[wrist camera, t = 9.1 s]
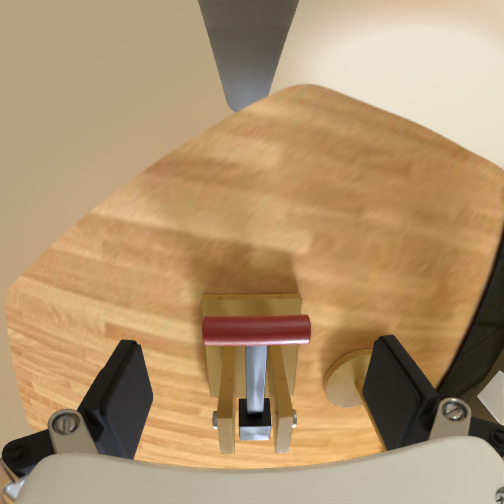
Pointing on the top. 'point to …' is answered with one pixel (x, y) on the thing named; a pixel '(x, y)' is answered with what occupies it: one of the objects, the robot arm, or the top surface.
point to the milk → (494, 397)
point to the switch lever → (255, 359)
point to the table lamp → (349, 382)
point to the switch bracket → (234, 369)
